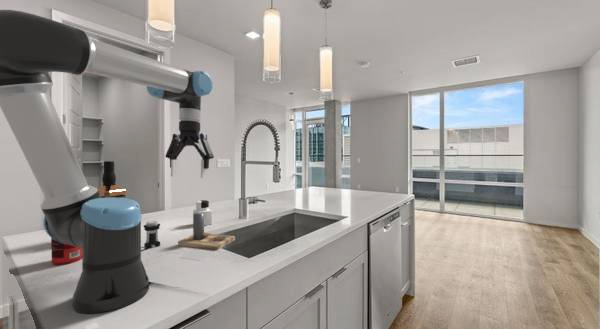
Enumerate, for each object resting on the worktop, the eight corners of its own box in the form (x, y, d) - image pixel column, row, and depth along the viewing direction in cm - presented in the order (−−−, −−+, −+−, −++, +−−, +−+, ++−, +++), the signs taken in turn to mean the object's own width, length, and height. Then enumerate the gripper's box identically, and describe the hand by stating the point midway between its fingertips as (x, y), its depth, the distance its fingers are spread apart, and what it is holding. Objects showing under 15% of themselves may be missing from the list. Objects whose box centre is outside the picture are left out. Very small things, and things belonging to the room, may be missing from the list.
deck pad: (199, 263, 84) (199, 260, 84) (178, 260, 87) (178, 257, 87) (214, 254, 92) (214, 251, 92) (194, 252, 94) (194, 249, 94)
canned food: (87, 254, 91) (86, 223, 91) (77, 263, 84) (76, 229, 83) (59, 257, 88) (58, 225, 88) (46, 266, 81) (45, 231, 80)
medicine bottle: (206, 221, 139) (206, 199, 138) (212, 224, 133) (212, 200, 133) (192, 223, 134) (192, 200, 134) (197, 226, 129) (197, 202, 128)
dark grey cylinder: (199, 246, 101) (199, 214, 101) (191, 244, 102) (190, 214, 102) (206, 242, 105) (206, 212, 104) (197, 241, 106) (197, 212, 106)
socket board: (217, 252, 94) (217, 245, 94) (178, 247, 99) (178, 240, 99) (234, 242, 105) (234, 235, 105) (199, 238, 110) (199, 231, 110)
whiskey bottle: (107, 240, 106) (106, 161, 105) (88, 238, 109) (87, 161, 108) (129, 233, 116) (129, 161, 115) (112, 231, 119) (111, 160, 118)
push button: (142, 254, 92) (142, 225, 92) (137, 250, 96) (137, 223, 95) (162, 249, 97) (162, 222, 97) (157, 245, 101) (157, 219, 100)
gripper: (223, 121, 100) (222, 177, 100) (170, 123, 108) (169, 175, 108) (211, 118, 93) (210, 178, 93) (155, 120, 100) (154, 176, 101)
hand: (188, 177), depth 100 cm, fingers open, 13 cm apart
